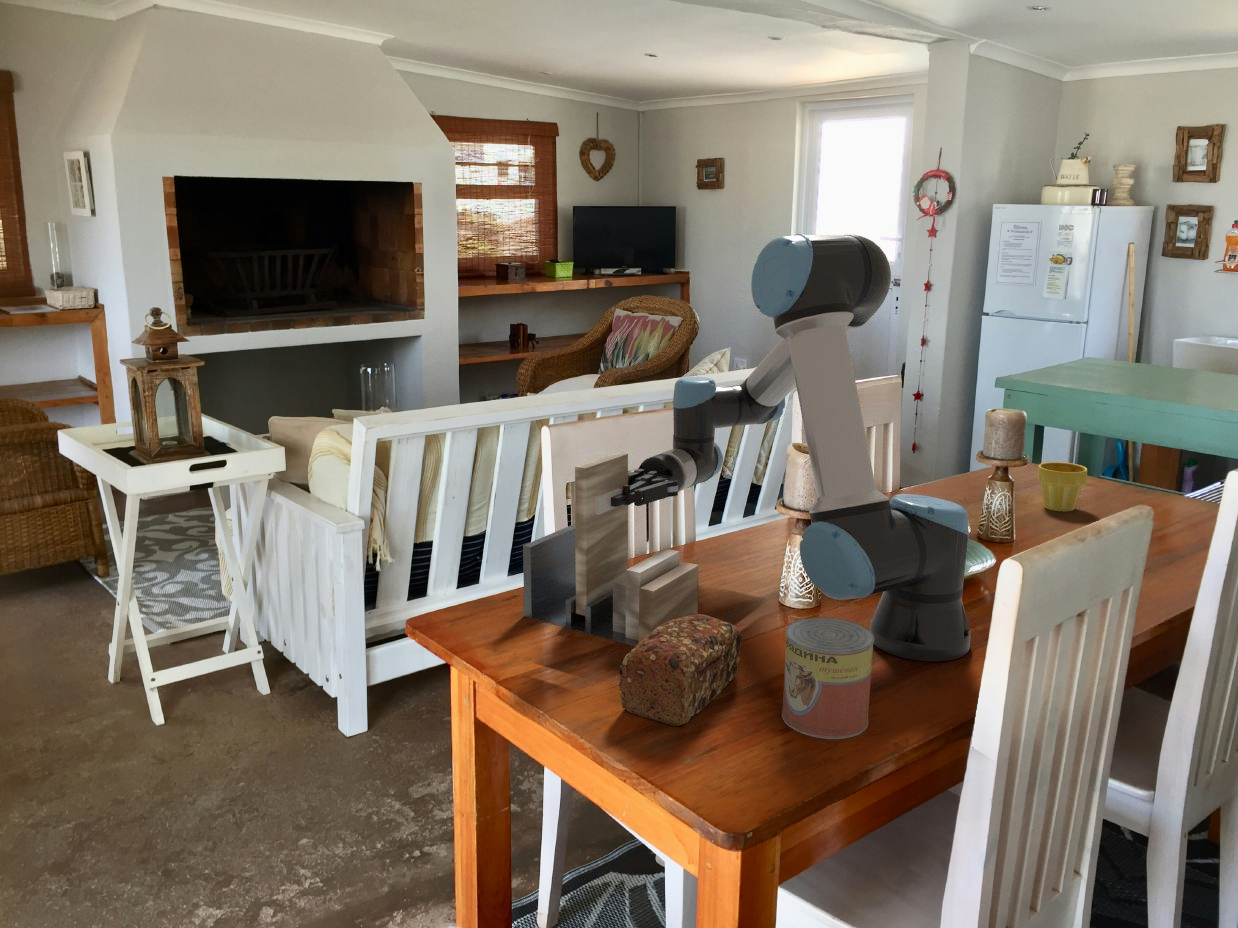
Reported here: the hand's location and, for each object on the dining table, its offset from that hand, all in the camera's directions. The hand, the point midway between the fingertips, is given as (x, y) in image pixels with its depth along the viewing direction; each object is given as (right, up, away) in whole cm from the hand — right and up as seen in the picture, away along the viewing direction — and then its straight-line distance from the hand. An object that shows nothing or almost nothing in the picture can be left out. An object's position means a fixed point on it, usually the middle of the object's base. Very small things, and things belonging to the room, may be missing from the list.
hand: (589, 504), depth 157 cm
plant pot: (+106, -4, +74) cm, 129 cm away
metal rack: (+4, -20, +7) cm, 21 cm away
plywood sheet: (+2, -16, +7) cm, 18 cm away
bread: (+13, -26, -17) cm, 34 cm away
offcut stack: (+10, -19, +2) cm, 22 cm away
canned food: (+32, -28, -24) cm, 48 cm away
